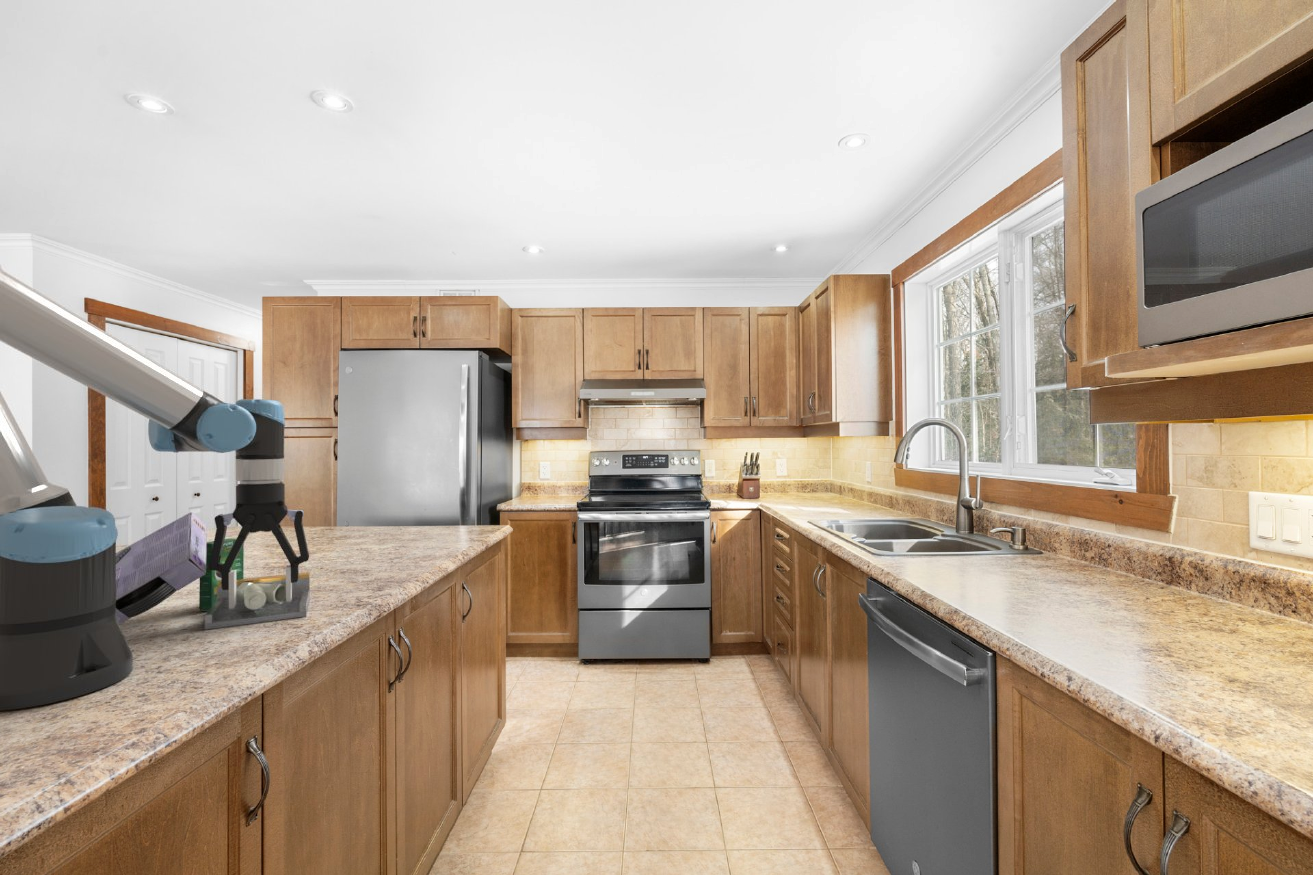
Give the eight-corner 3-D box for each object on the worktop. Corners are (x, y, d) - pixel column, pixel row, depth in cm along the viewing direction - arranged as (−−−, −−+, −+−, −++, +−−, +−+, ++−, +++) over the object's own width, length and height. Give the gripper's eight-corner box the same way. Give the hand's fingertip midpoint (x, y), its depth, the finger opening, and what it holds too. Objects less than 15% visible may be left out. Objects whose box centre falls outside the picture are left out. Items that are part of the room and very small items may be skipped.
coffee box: (232, 599, 118) (232, 536, 118) (245, 599, 118) (245, 536, 118) (197, 611, 110) (197, 543, 110) (211, 611, 110) (211, 543, 110)
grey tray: (306, 616, 106) (305, 586, 106) (204, 629, 99) (204, 597, 99) (310, 599, 118) (310, 572, 118) (219, 610, 110) (219, 581, 111)
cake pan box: (102, 643, 95) (210, 574, 101) (75, 626, 92) (187, 556, 98) (113, 581, 109) (208, 524, 115) (90, 565, 106) (188, 507, 112)
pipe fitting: (259, 613, 102) (288, 600, 109) (257, 592, 102) (287, 580, 109) (219, 612, 103) (251, 599, 110) (218, 591, 103) (249, 579, 110)
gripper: (325, 478, 115) (326, 591, 115) (195, 483, 105) (195, 606, 105) (324, 480, 109) (325, 600, 108) (185, 485, 99) (185, 617, 98)
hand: (261, 603), depth 107 cm, fingers closed on pipe fitting, 8 cm apart
